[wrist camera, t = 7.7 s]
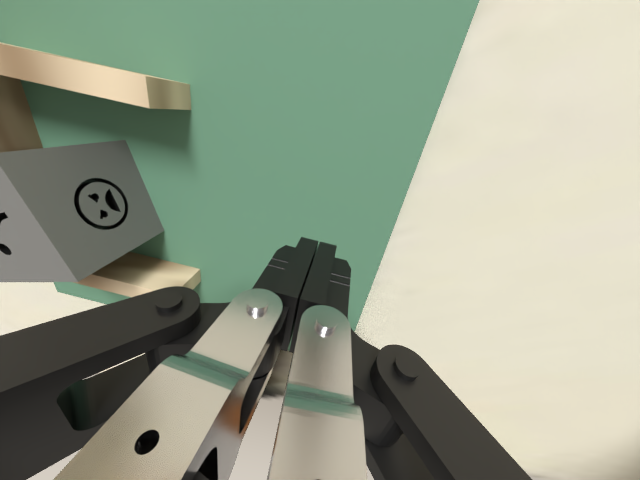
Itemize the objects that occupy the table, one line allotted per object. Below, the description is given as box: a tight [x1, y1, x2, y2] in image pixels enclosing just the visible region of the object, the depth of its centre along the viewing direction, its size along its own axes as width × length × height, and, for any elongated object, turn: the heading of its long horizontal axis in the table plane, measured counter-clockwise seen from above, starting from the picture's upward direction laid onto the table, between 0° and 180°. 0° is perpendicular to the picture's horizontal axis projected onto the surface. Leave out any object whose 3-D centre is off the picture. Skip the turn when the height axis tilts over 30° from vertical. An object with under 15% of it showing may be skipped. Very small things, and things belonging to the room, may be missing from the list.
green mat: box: [0, 0, 479, 350], centre depth 13 cm, size 22×20×1 cm
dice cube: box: [0, 140, 164, 282], centre depth 11 cm, size 5×5×5 cm
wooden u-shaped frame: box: [0, 42, 201, 297], centre depth 12 cm, size 10×11×2 cm
